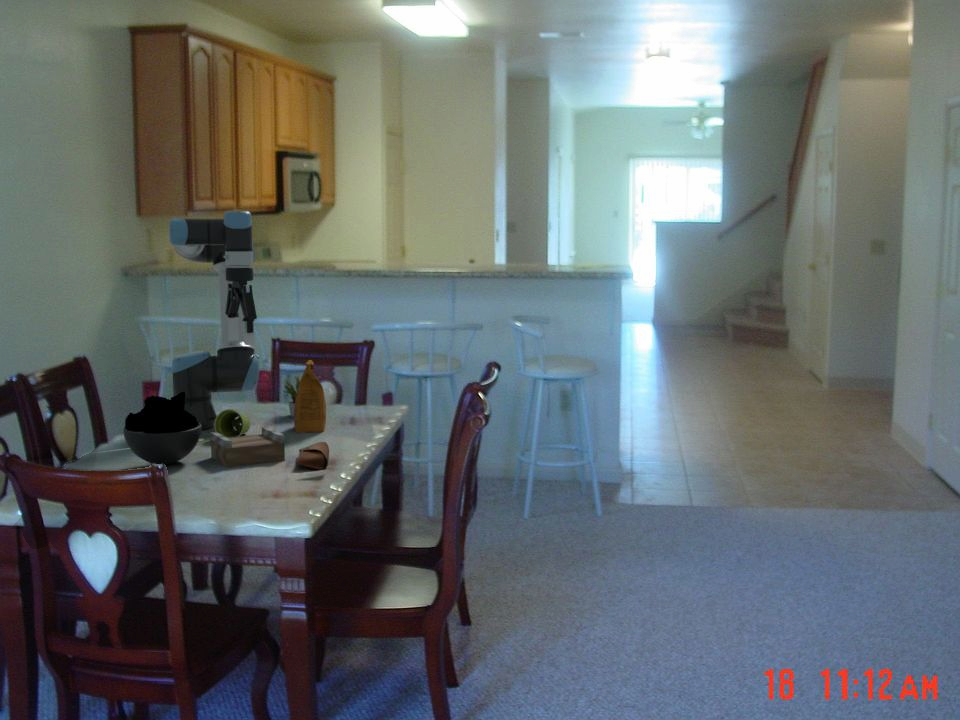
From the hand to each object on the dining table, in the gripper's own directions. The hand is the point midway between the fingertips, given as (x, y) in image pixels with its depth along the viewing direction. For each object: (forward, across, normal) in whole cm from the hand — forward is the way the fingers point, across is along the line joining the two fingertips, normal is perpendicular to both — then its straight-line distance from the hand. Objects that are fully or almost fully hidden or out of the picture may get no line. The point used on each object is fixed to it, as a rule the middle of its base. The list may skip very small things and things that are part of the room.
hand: (241, 342), depth 285 cm
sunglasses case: (+31, +25, +9) cm, 41 cm away
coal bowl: (+31, +6, -24) cm, 40 cm away
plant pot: (+27, -21, +6) cm, 35 cm away
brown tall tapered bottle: (+31, -16, +26) cm, 44 cm away
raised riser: (+31, +12, -3) cm, 33 cm away
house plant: (+31, -35, +32) cm, 56 cm away
